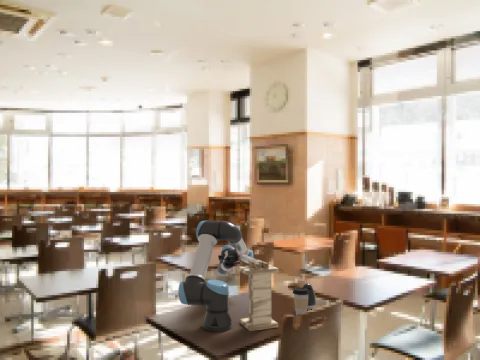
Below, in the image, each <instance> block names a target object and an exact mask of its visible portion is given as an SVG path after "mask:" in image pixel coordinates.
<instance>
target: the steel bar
mask: <svg viewBox="0 0 480 360" xmlns="http://www.w3.org/2000/svg"><path fill="white" fill-rule="evenodd" d="M239 260H241V262H243V263H246V264H248V265H249V260H252V261H254V262H256V263H258V264H260V268H262V262H261V261H262V260H261V261H259V260H260V259H257V258H254V257H253V258H252V257H250V256H247V255H245V254H239Z"/></svg>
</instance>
